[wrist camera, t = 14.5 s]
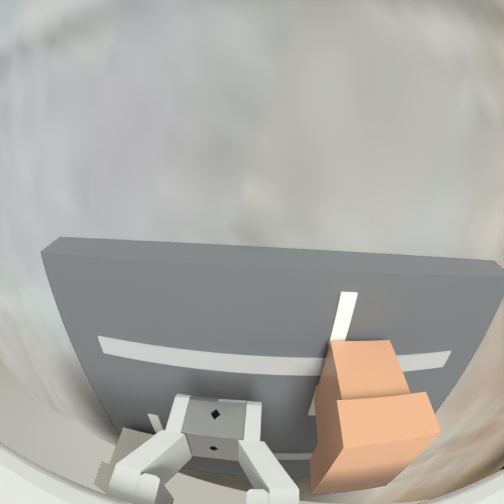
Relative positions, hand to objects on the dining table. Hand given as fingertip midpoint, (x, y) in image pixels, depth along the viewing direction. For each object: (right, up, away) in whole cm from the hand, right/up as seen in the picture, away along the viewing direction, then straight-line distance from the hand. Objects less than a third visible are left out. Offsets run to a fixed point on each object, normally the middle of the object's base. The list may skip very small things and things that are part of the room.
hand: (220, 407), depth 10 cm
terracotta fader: (+5, +1, +1) cm, 5 cm away
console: (+2, -2, +5) cm, 6 cm away
